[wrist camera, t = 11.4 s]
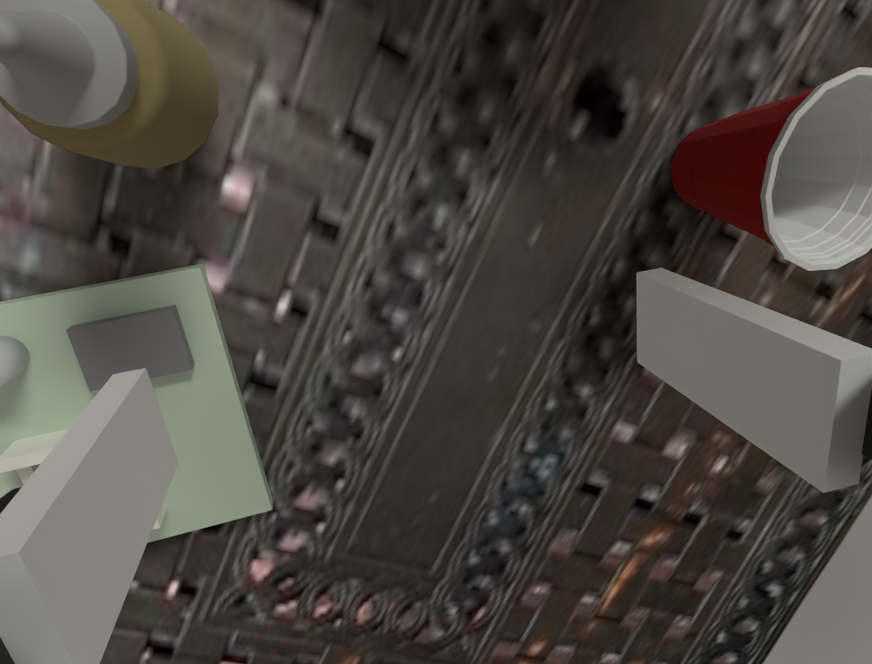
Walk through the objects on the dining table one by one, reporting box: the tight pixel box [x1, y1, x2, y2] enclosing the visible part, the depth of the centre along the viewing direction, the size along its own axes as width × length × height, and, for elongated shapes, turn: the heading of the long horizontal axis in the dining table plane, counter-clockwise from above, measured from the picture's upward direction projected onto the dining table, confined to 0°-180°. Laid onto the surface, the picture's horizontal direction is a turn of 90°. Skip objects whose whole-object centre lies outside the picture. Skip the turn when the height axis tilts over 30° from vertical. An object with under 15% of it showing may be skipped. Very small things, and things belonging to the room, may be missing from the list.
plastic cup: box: [671, 67, 872, 271], centre depth 36 cm, size 11×11×12 cm
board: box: [0, 264, 273, 543], centre depth 36 cm, size 18×16×4 cm
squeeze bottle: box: [0, 0, 218, 169], centre depth 24 cm, size 8×8×18 cm
